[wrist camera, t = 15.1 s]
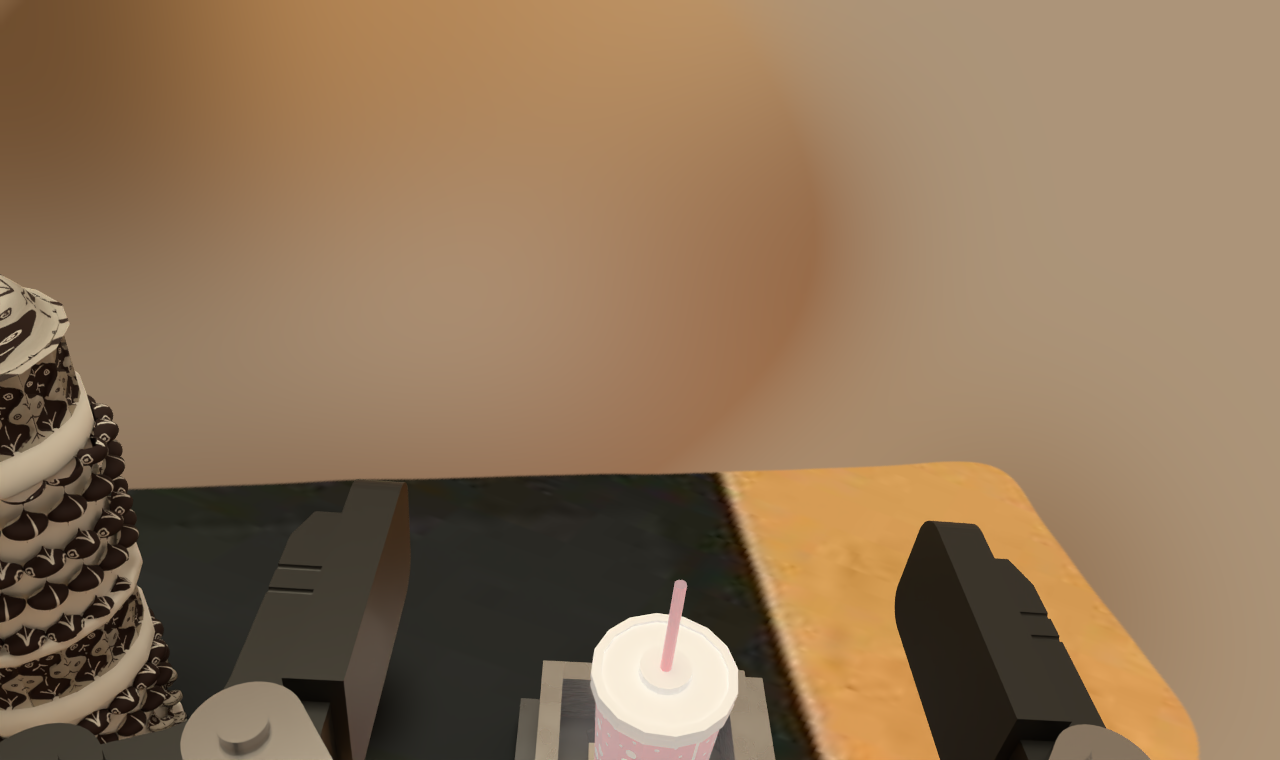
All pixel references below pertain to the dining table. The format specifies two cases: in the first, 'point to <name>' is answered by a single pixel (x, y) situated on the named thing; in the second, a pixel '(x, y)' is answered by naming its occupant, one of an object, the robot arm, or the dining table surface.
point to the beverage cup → (661, 687)
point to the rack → (565, 719)
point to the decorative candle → (69, 547)
